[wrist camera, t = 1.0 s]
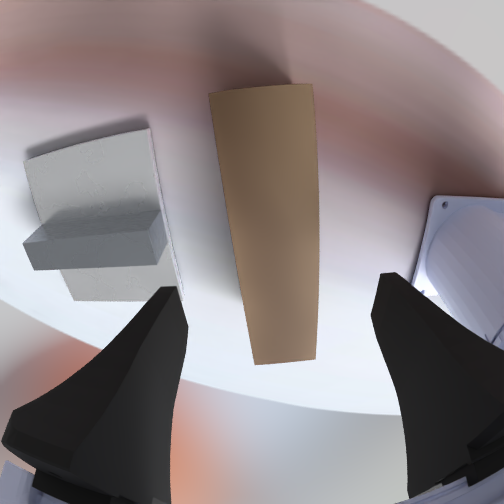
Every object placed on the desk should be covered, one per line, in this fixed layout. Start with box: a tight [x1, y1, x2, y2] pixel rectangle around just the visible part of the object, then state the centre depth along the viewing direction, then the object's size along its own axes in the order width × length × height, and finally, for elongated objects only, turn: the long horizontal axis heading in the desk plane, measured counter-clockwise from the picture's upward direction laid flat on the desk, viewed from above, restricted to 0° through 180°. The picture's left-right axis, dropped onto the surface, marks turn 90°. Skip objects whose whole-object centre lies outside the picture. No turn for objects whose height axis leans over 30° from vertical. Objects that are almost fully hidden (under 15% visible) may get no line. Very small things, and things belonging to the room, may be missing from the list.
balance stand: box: [23, 128, 185, 301], centre depth 16 cm, size 9×11×3 cm
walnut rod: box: [209, 84, 319, 365], centre depth 15 cm, size 4×14×5 cm, turn 7°
